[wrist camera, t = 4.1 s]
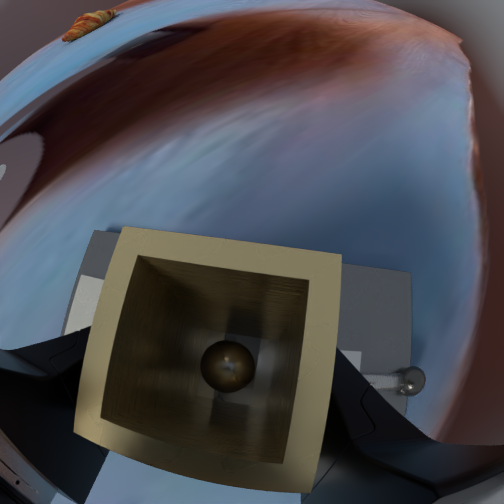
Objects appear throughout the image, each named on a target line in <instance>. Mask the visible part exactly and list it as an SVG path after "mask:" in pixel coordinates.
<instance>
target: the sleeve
mask: <svg viewBox="0 0 504 504" xmlns="http://www.w3.org/2000/svg"><path fill="white" fill-rule="evenodd" d="M341 266H342V255H341V254H334V253H327V252H320V251H313V250H305V249H298V248H291V247H283V246H276V245H268V244H261V243H253V242H246V241H238V240H230V239H223V238H215V237H207V236H199V235H191V234H183V233H175V232H167V231H159V230H151V229H143V228H135V227H126V226H123V228H122V231H121V233H120V236H119V239H118V241H117V244H116V247H115V250H114V253H113V255H112V258H111V261H110V264H109V267H108V270H107V273H106V276H105V280H104V283H103V286H102V289H101V293H100V296H99V300H98V303H97V307H96V310H95V314H94V318H93V322H92V326H91V330H90V334H89V338H88V343H87V347H86V352H85V357H84V362H83V367H82V372H81V378H80V384H79V390H78V397H77V404H76V412H75V421H74V431H73V432H74V433H76V434H78V435H80V436H82V437H84V438H86V439H88V440H90V441H92V442H94V443H96V444H98V445H100V446H102V447H105V448H107V449H109V450H111V451H114V452H116V453H118V454H121V455H123V456H126V457H128V458H131V459H133V460H136V461H139V462H141V463H144V464H147V465H150V466H153V467H156V468H159V469H162V470H165V471H168V472H172V473H175V474H179V475H182V476H186V477H190V478H194V479H198V480H203V481H207V482H212V483H217V484H222V485H227V486H233V487H240V488H247V489H254V490H263V491H274V492H289V493H311V490H312V486H313V482H314V478H315V474H316V470H317V465H318V461H319V456H320V451H321V446H322V441H323V436H324V431H325V425H326V419H327V413H328V407H329V401H330V394H331V387H332V379H333V371H334V363H335V354H336V344H337V333H338V321H339V307H340V290H341ZM209 330H211V331H217V332H222V333H228V334H234V335H240V336H247V337H253V338H260V339H267V340H274V341H277V347H276V354H275V360H274V367H273V373H272V380H271V386H270V392H269V398H268V404H267V408H265V407H258V406H251V405H244V404H238V403H232V402H227V401H221V400H216V399H211V398H207V397H202V396H198V395H197V393H198V387H199V382H200V376H201V370H200V362H201V358H202V355H203V354H204V352H205V350H206V344H207V339H208V334H209Z"/></svg>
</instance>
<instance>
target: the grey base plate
mask: <svg viewBox="0 0 504 504" xmlns="http://www.w3.org/2000/svg"><path fill="white" fill-rule="evenodd" d="M119 236H120V233H114V232H106V231H99V230H94V232H93V234H92V237H91V239H90V242H89V245H88V247H87V250H86V253H85V255H84V258H83V261H82V264H81V266H80V269H79V272H78V275H77V278H76V281H75V285H74V288H73V291H72V294H71V298H70V301H69V305H68V308H67V312H66V316H65V319H64V323H63V327H62V331H61V336H64V335H67V334H69V333H72V332H75V331H77V330H78V331H80V329H83V328H86V327H88V326H91V325H92V322H93V318H94V314H95V310H96V307H97V303H98V300H99V296H100V293H101V289H102V286H103V283H104V280H105V276H106V273H107V270H108V267H109V264H110V261H111V258H112V255H113V253H114V250H115V247H116V244H117V241H118V239H119ZM61 336H60V337H61ZM411 341H412V294H411V273H410V272H403V271H396V270H389V269H381V268H374V267H366V266H359V265H352V264H344V263H342V266H341V290H340V307H339V321H338V333H337V344H336V346H337V348H338V349H339V350H340V351H341V352H342V353H343V354H344V355H345V356H346V357H347V359H348V360H349V361H350V362H351V363H352V364H353V365H354V366H355V367H356V368H357V370H358V371H359V372H360V373H361V374H362V375H363V376H364V377H365V378H366V379H367V380H368V382H369V383H370V385H372V386H373V387H374V388H375V389H376V390H377V391H378V392H379V393H380V394H381V395H382V397H383V398H384V399H385V400H386V401H387V402H388V403H389V404H391V405H392V406H393V407H394V408H395V409H396V410H397V411H398V412H399V413H400V414H402V415H403V416H405V409H406V402H407V396H414V395H416V394H418V393H419V392H420V391H421V390H422V389H423V387H424V385H425V381H426V378H425V374H424V372H423V371H422V370H421V369H420V368H419V367H415V366H410V361H411ZM276 347H277V341H274V340H267V339H260V338H253V337H247V336H240V335H234V334H228V333H222V332H217V331H211V330H209V334H208V339H207V344H206V350H205V352H204V354H203V355H202V358H201V362H200V370H201V376H200V382H199V387H198V393H197V395H198V396H202V397H207V398H211V399H216V400H221V401H227V402H232V403H238V404H244V405H251V406H258V407H265V408H267V404H268V398H269V392H270V386H271V380H272V373H273V367H274V360H275V354H276Z"/></svg>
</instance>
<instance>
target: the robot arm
mask: <svg viewBox="0 0 504 504" xmlns="http://www.w3.org/2000/svg"><path fill="white" fill-rule="evenodd" d="M91 326H92V325H91ZM91 326H88V327H86V328H83V329H80V331H78V330H77V331H75V332H72V333H69V334H67V335H64V336H61V337H58V338H55V339H51V340H48V341H44V342H41V343H37V344H33V345H30V346H26V347H22V348H18V349H14V350H2V349H0V504H51V502H52V500H53V498H54V497H55V495H56V493H57V492H58V493H60V494H61V495H63V496H64V497H66V498H68V499H69V500H71V501H73V502H74V503H76V504H84V503H85V501H86V499H87V497H88V495H89V493H90V490H91V488H92V486H93V484H94V482H95V480H96V478H97V476H98V474H99V472H100V470H101V467H102V465H103V463H104V461H105V459H106V457H107V455H108V453H109V451H110V450H109V449H107V448H105V447H102V446H100V445H98V444H96V443H94V442H92V441H90V440H88V439H86V438H84V437H82V436H80V435H78V434H76V433H74V432H73V431H74V421H75V412H76V404H77V397H78V390H79V384H80V378H81V372H82V367H83V362H84V357H85V352H86V347H87V343H88V338H89V334H90V330H91ZM301 504H504V445H462V444H447V443H441V442H437V441H435V440H433V439H431V438H429V437H428V436H426V435H425V434H424V433H422V432H421V431H420V430H419V429H418V428H417V427H415V426H414V425H413V424H412V423H411V422H410V421H408V420H407V419H406V418H405V417H404V416H403V415H402V414H400V413H399V412H398V411H397V410H396V409H395V408H394V407H393V406H392V405H391V404H389V403H388V402H387V401H386V400H385V399H384V398H383V397H382V395H381V394H380V393H379V392H378V391H377V390H376V389H375V388H374V387H373V386H372V385H370V383H369V382H368V380H367V379H366V378H365V377H364V376H363V375H362V374H361V373H360V372H359V371H358V370H357V368H356V367H355V366H354V365H353V364H352V363H351V362H350V361H349V360H348V359H347V357H346V356H345V355H344V354H343V353H342V352H341V351H340V350H339V349H338V348H337V346H336V354H335V363H334V371H333V379H332V387H331V394H330V401H329V407H328V413H327V419H326V425H325V431H324V436H323V441H322V446H321V451H320V456H319V461H318V465H317V470H316V474H315V478H314V482H313V486H312V490H311V493H301Z"/></svg>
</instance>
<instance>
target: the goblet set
mask: <svg viewBox="0 0 504 504" xmlns="http://www.w3.org/2000/svg"><path fill="white" fill-rule="evenodd" d="M5 171H6V165H5V164H3V165H0V180H1V179H2V178H3V176H4V174H5Z"/></svg>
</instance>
